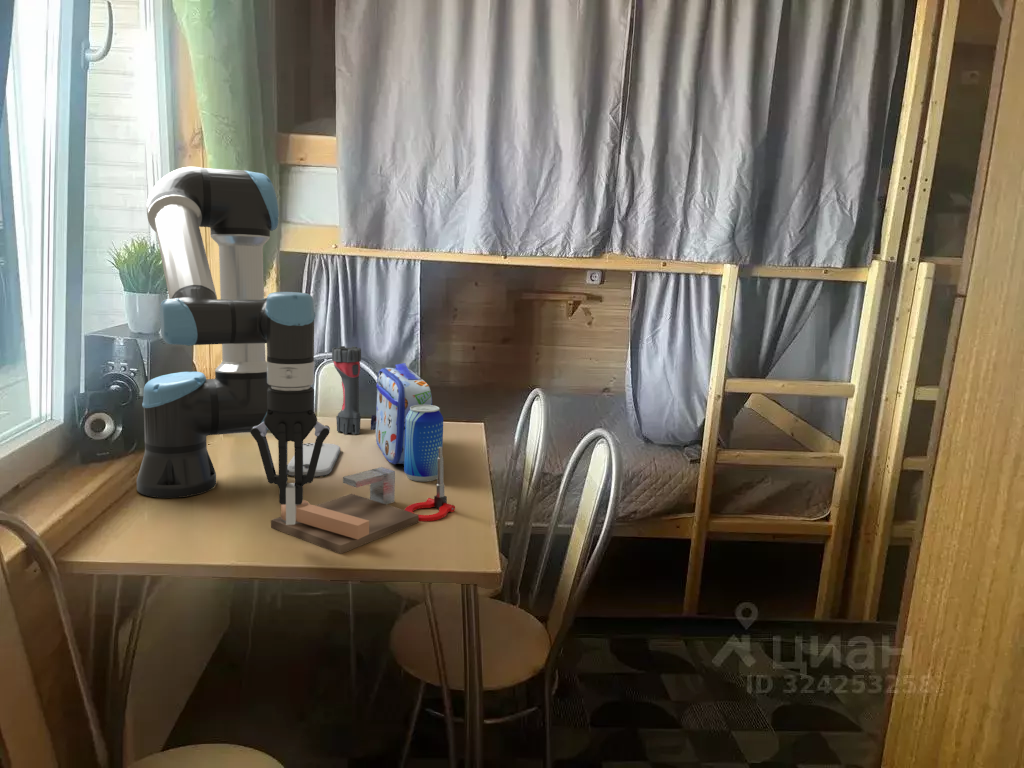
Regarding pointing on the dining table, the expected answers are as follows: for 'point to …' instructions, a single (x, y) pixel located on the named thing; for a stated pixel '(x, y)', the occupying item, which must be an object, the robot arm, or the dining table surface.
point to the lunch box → (396, 408)
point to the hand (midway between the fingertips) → (291, 521)
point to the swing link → (329, 520)
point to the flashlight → (348, 388)
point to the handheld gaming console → (324, 462)
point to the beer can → (422, 442)
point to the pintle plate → (377, 513)
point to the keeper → (375, 483)
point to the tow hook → (435, 497)
